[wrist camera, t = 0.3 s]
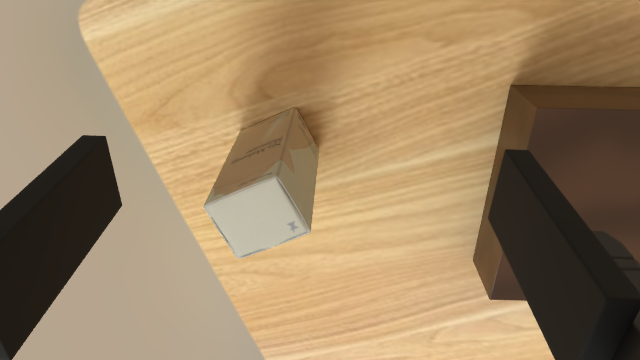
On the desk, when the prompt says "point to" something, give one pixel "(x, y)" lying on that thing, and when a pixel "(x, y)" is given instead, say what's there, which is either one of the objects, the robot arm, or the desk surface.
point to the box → (266, 185)
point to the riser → (571, 165)
